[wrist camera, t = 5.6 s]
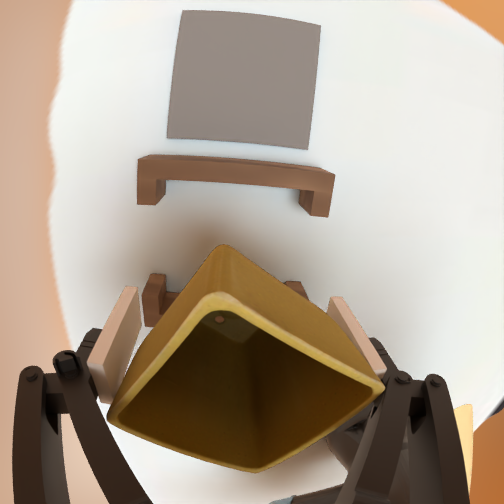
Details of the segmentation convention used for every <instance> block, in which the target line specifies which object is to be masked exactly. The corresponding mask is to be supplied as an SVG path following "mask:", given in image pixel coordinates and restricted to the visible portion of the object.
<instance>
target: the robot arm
mask: <svg viewBox="0 0 504 504" xmlns="http://www.w3.org/2000/svg"><path fill="white" fill-rule="evenodd" d="M326 314H328V315H329V316H330V317H331V318H332V319H333V320H334V321H335V322H336V323H337V324H338V325H339V326H340V327H341V329H342V330H343V331H344V332H345V334H346V335H347V336H348V338H349V339H350V340H351V342H352V343H353V344H354V346H355V347H356V348H357V350H358V351H359V352H360V354H361V355H362V356H363V357H364V359H365V360H366V361H367V363H368V364H369V366H370V367H371V368H372V370H373V371H374V372H375V374H376V375H377V376H378V378H379V379H380V380H381V382H382V383H383V384H384V386H385V390H384V391H383V392H382V393H381V394H380V395H379V396H378V397H377V398H376V399H375V400H374V401H373V402H372V403H370V404H369V405H368V406H367V407H365V408H364V409H363V410H362V411H360V412H359V413H358V414H356V415H355V416H353V417H352V418H351V419H349V420H348V421H346V422H345V423H343V424H342V425H341V426H339V427H338V428H336V429H335V430H334V431H332V432H331V433H329V434H327V435H326V440H327V443H328V446H329V449H330V450H331V452H332V453H333V454H334V455H335V457H336V458H337V459H338V460H339V461H340V463H341V464H342V465H343V466H344V467H345V469H346V470H347V472H348V475H347V478H346V480H345V482H344V484H340V485H337V486H334V487H330V488H327V489H323V490H320V491H316V492H312V493H308V494H304V495H299V496H296V495H293V496H291V497H289V498H285V499H281V500H276V501H273V502H271V503H269V504H470V500H469V491H468V482H467V475H466V468H465V462H464V456H463V451H462V446H461V441H460V436H459V431H458V427H457V422H456V418H455V414H454V410H453V406H452V402H451V398H450V395H449V391H448V388H447V384H446V382H445V380H444V379H443V378H442V377H441V376H439V375H436V374H429V375H427V377H426V378H425V380H424V381H422V380H413V379H412V377H411V376H410V375H409V374H408V373H406V372H404V371H399V370H398V369H397V367H396V365H395V364H394V362H393V361H392V359H391V358H390V356H389V355H388V353H387V352H386V350H385V348H384V347H383V345H382V344H381V343H380V342H379V341H378V340H377V339H375V338H368V337H367V335H366V334H365V332H364V330H363V329H362V327H361V326H360V324H359V323H358V321H357V319H356V318H355V316H354V315H353V313H352V312H351V310H350V309H349V307H348V306H347V304H346V302H345V301H344V299H343V298H342V297H330V301H329V305H328V309H327V313H326ZM141 326H142V323H141V315H140V306H139V295H138V287H129V286H126V287H125V288H124V290H123V292H122V294H121V296H120V297H119V299H118V301H117V303H116V305H115V307H114V309H113V310H112V312H111V314H110V316H109V318H108V320H107V322H106V324H105V326H104V328H103V329H96V328H93V329H91V330H90V331H89V332H88V333H86V335H85V337H84V339H83V341H82V342H81V344H80V346H79V348H78V350H77V352H74V351H71V350H65V351H61V352H59V353H57V354H56V355H55V356H54V358H53V365H54V368H55V370H56V373H48V374H47V373H46V374H44V373H43V371H42V369H41V368H39V367H38V366H29V367H26V368H24V369H23V370H22V371H21V373H20V376H19V382H18V389H17V397H16V405H15V415H14V428H13V429H14V430H13V450H12V455H13V456H12V471H13V492H14V504H70V500H69V493H68V488H67V481H66V474H65V466H64V457H63V445H62V430H61V414H68V413H69V414H70V416H71V420H72V422H73V425H74V428H75V431H76V433H77V436H78V438H79V441H80V443H81V446H82V448H83V451H84V453H85V455H86V458H87V460H88V462H89V464H90V467H91V468H92V471H93V473H94V475H95V477H96V479H97V481H98V483H99V485H100V487H101V489H102V491H103V493H104V495H105V497H106V498H107V500H108V502H109V504H153V503H152V501H151V500H150V499H149V497H148V496H147V494H146V493H145V491H144V490H143V488H142V486H141V485H140V483H139V482H138V480H137V479H136V477H135V475H134V474H133V472H132V470H131V469H130V467H129V465H128V463H127V462H126V460H125V458H124V456H123V455H122V453H121V451H120V449H119V447H118V445H117V443H116V442H115V440H114V438H113V436H112V434H111V432H110V430H109V428H108V426H107V424H106V421H105V419H104V417H103V415H102V413H101V411H100V408H99V406H98V404H97V402H96V400H97V397H98V396H99V399H100V402H101V403H106V404H112V402H113V399H114V397H115V395H116V393H117V391H118V389H119V387H120V385H121V383H122V381H123V379H124V376H125V372H126V369H127V366H128V363H129V360H130V357H131V354H132V351H133V348H134V345H135V343H136V340H137V337H138V334H139V331H140V328H141Z"/></svg>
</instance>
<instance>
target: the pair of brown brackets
mask: <svg viewBox="0 0 504 504" xmlns="http://www.w3.org/2000/svg"><path fill="white" fill-rule="evenodd" d="M166 180H186V181H206V182H222V183H236V184H249V185H260V186H271V187H282V188H291V189H300V197H299V204H300V205H301V206H302V207H303V208H304V209H305V210H306V212H307V213H308V214H309V215H310V216H318V217H328V215H329V210H330V204H331V198H332V192H333V186H334V180H335V174H332V173H330V172H328V171H326V170H323V169H321V168H317V167H310V166H302V165H295V164H286V163H277V162H268V161H258V160H247V159H235V158H221V157H205V156H184V155H148V156H145V157H143V158H140V159H138V169H137V205H156V204H157V203H158V202H159V201H160V200H161V198H162V197H163V196H164V195H165V188H166ZM286 286H288V287H289V288H291V289H292V290H294V291H295V292H296V293H298V294H299V295H301V296H302V297H304V298H305V299H307V300H308V301H309V299H308V296H307V294H306V292H305V290H304V288H303V286H302V284H301V282H297V281H286ZM179 294H180V293H171V292H166V276H165V275H163V274H150V277H149V279H148V281H147V283H146V286H145V288H144V290H143V293H142V304H143V314H144V323H145V327H155V325H156V324H157V323H158V321H159V320H160V319H161V318H162V316H163V315H164V314H165V312H166V311H167V310H168V309H169V307H170V306H171V305H172V303H173V302H174V301H175V299H176V298H177V297H178V296H179ZM215 320H216V321H217V322H222V321H224V318H223V317H222V316H217V317H216V318H215Z"/></svg>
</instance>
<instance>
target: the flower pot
mask: <svg viewBox="0 0 504 504" xmlns="http://www.w3.org/2000/svg"><path fill="white" fill-rule="evenodd" d="M217 316H222V317H223V318H224V321H222V322H217V321H216V320H215V318H216V317H217ZM384 390H385V386H384V384H383V383H382V382H381V380H380V379H379V378H378V376H377V375H376V374H375V372H374V371H373V370H372V368H371V367H370V366H369V364H368V363H367V361H366V360H365V359H364V357H363V356H362V355H361V354H360V352H359V351H358V350H357V348H356V347H355V346H354V344H353V343H352V342H351V340H350V339H349V338H348V336H347V335H346V334H345V332H344V331H343V330H342V329H341V327H340V326H339V325H338V324H337V323H336V322H335V321H334V320H333V319H332V318H331V317H330V316H329V315H328V314H326V313H325V312H324V311H323V310H321V309H320V308H319V307H317V306H316V305H315V304H313V303H312V302H310V301H308V300H307V299H305V298H304V297H302V296H301V295H299V294H298V293H296V292H295V291H294V290H292V289H291V288H289V287H288V286H286V285H285V284H283V283H282V282H280V281H279V280H277V279H276V278H275V277H273V276H272V275H270V274H269V273H267V272H266V271H264V270H263V269H262V268H260V267H259V266H257V265H256V264H255V263H253V262H252V261H250V260H249V259H248V258H246V257H245V256H243V255H242V254H241V253H239V252H238V251H237V250H235V249H234V248H232V247H231V246H229V245H225V244H223V245H219V246H217V247H216V248H215V249H214V250H213V251H212V252H211V253H210V255H209V256H208V257H207V259H206V260H205V261H204V263H203V264H202V265H201V267H200V268H199V269H198V271H197V272H196V273H195V275H194V276H193V277H192V279H191V280H190V281H189V283H188V284H187V285H186V287H185V288H184V289H183V290H182V292H181V293H180V294H179V296H178V297H177V298H176V299H175V301H174V302H173V303H172V305H171V306H170V307H169V309H168V310H167V311H166V312H165V314H164V315H163V316H162V318H161V319H160V320H159V321H158V323H157V324H156V325H155V327H154V328H153V329H152V330H151V332H150V333H149V334H148V335H147V337H146V338H145V339H144V341H143V342H142V344H141V345H140V347H139V349H138V350H137V352H136V354H135V356H134V358H133V360H132V362H131V364H130V366H129V368H128V370H127V372H126V374H125V377H124V379H123V381H122V383H121V385H120V387H119V389H118V391H117V393H116V395H115V397H114V399H113V402H112V404H111V406H110V408H109V410H108V413H107V421H108V422H109V423H111V424H112V425H114V426H116V427H118V428H119V429H122V430H124V431H126V432H128V433H130V434H133V435H135V436H137V437H140V438H142V439H144V440H147V441H149V442H152V443H154V444H157V445H160V446H162V447H165V448H168V449H171V450H173V451H176V452H179V453H182V454H185V455H188V456H191V457H194V458H197V459H200V460H203V461H206V462H210V463H214V464H217V465H221V466H224V467H228V468H232V469H236V470H240V471H245V472H250V473H259V472H261V471H264V470H266V469H269V468H271V467H273V466H275V465H277V464H279V463H281V462H283V461H285V460H286V459H288V458H290V457H292V456H294V455H295V454H297V453H299V452H301V451H302V450H304V449H305V448H307V447H309V446H311V445H312V444H314V443H315V442H317V441H318V440H320V439H321V438H323V437H324V436H326V435H327V434H329V433H331V432H332V431H334V430H335V429H336V428H338V427H339V426H341V425H342V424H343V423H345V422H346V421H348V420H349V419H351V418H352V417H353V416H355V415H356V414H358V413H359V412H360V411H362V410H363V409H364V408H365V407H367V406H368V405H369V404H370V403H372V402H373V401H374V400H375V399H376V398H377V397H378V396H379V395H380V394H381V393H382V392H383V391H384Z"/></svg>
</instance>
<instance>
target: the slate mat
mask: <svg viewBox="0 0 504 504" xmlns="http://www.w3.org/2000/svg"><path fill="white" fill-rule="evenodd" d="M320 30H321V26H320V25H316V24H312V23H307V22H302V21H297V20H292V19H286V18H280V17H274V16H267V15H259V14H250V13H240V12H227V11H205V10H183V11H182V17H181V23H180V28H179V34H178V41H177V47H176V54H175V61H174V69H173V77H172V86H171V95H170V105H169V116H168V128H167V138H181V139H204V140H221V141H234V142H246V143H257V144H266V145H275V146H283V147H291V148H299V149H306V150H308V145H309V137H310V129H311V121H312V112H313V103H314V94H315V85H316V75H317V65H318V54H319V43H320Z"/></svg>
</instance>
